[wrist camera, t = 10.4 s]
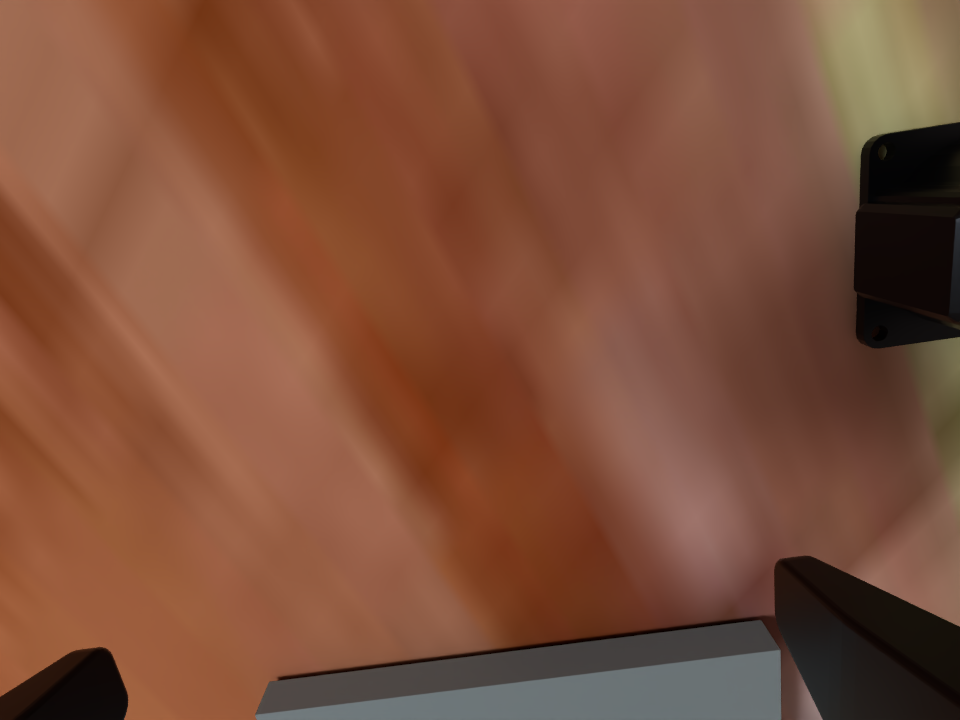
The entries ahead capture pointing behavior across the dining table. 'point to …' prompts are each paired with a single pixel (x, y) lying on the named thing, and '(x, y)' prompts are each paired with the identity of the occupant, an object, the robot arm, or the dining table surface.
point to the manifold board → (559, 683)
